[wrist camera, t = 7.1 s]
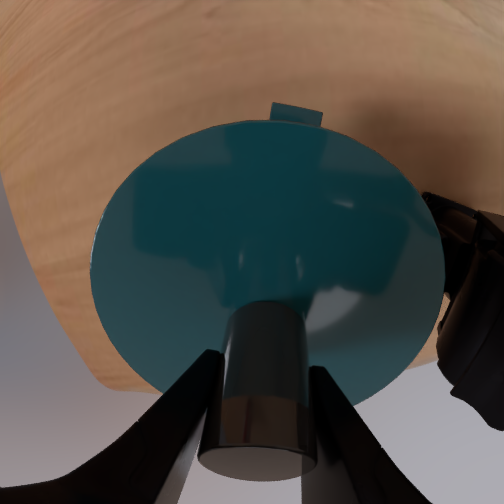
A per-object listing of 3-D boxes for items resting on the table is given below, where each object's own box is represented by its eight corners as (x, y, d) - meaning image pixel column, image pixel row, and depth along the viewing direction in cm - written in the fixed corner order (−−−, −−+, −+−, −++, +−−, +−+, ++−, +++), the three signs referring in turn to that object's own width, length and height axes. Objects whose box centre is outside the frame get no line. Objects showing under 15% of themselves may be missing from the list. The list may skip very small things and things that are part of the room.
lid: (475, 185, 8) (596, 260, 2) (354, 413, 13) (368, 503, 8) (105, 104, 7) (-53, 121, 2) (123, 375, 13) (83, 463, 8)
